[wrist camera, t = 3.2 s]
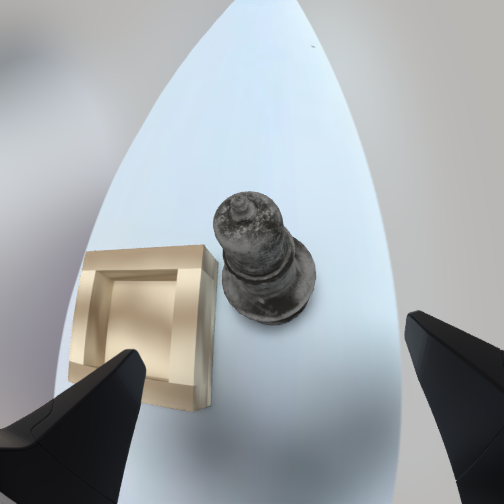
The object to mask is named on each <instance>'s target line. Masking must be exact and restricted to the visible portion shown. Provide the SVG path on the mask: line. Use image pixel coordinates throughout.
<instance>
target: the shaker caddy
mask: <svg viewBox="0 0 504 504" xmlns="http://www.w3.org/2000/svg"><path fill="white" fill-rule="evenodd" d="M217 274H218V262H217V261H216V259H215V258H214V257H213V256H212V254H211V253H210V252H209V251H208V249H207V248H206V247H205V246H204V245H187V246H170V247H153V248H136V249H120V250H104V251H89V252H86V254H85V258H84V263H83V267H82V272H81V277H80V282H79V287H78V293H77V299H76V305H75V311H74V318H73V326H72V335H71V345H70V356H69V372H68V381H69V382H72V383H77V382H78V381H80V380H81V379H83V378H84V377H86V376H87V375H89V374H90V373H91V372H93V371H94V370H96V369H97V368H99V367H100V366H102V365H103V364H104V363H106V362H107V361H109V360H110V359H112V358H113V357H115V356H116V355H117V354H119V353H120V352H122V351H123V350H125V349H136V350H137V351H138V353H139V354H140V356H141V358H142V360H143V362H144V364H145V366H146V377H145V383H144V389H143V394H142V400H141V402H142V403H147V404H151V405H156V406H161V407H167V408H172V409H178V410H184V411H191V412H194V411H196V410H199V409H202V408H205V407H208V406H210V405H211V384H212V359H213V338H214V320H215V303H216V288H217Z"/></svg>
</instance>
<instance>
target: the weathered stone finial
mask: <svg viewBox="0 0 504 504" xmlns="http://www.w3.org/2000/svg"><path fill="white" fill-rule="evenodd" d="M213 228H214V232H215V236H216V238H217V240H218V242H219V243H220V245H221V247H222V248H223V259H224V263H225V264H224V267H223V270H222V285H223V289H224V294H225V296H226V297H227V299H228V301H229V303H230V304H231V305H232V306H233V307H234V308H235V309H236V310H237V311H238V312H239V313H240V314H242V315H244V316H246V317H248V318H249V319H253V320H256V321H258V322H260V323H263V324H268V325H280V324H283V323H286V322H289V321H291V320H292V319H294V318H296V317H297V316H298V315H299V314H300V313H301V312H302V311H303V310H304V308H305V306H306V304H307V302H308V299H309V297H310V295H311V294H312V292H313V290H314V285H315V280H316V272H315V264H314V261H313V259H312V256H311V254H310V252H309V251H308V250H307V248H306V247H305V246H304V245H303V244H302V243H301V242H300V241H298V240H297V239H296V238H294V237H292V235H291V234H290V232H289V231H288V230H287V229H286V227H284V225H283V219H282V215H281V213H280V210H279V208H278V207H277V205H276V204H275V203H274V202H273V200H272V199H270V198H269V197H267V196H266V195H264V194H261V193H258V192H251V191H248V192H240V193H237V194H234V195H232V196H230V197H228V198H227V199H226V200H225V201H224V202H223V203H222V204H220V206H219V207H218V209H217V210H216V213H215V216H214V220H213Z"/></svg>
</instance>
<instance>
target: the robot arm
mask: <svg viewBox="0 0 504 504" xmlns="http://www.w3.org/2000/svg"><path fill="white" fill-rule="evenodd" d="M405 341H406V344H407V347H408V350H409V352H410V355H411V359H412V362H413V365H414V368H415V371H416V374H417V377H418V380H419V382H420V384H421V387H422V389H423V391H424V394H425V396H426V398H427V401H428V403H429V406H430V408H431V411H432V413H433V416H434V418H435V421H436V423H437V426H438V429H439V431H440V434H441V437H442V440H443V442H444V445H445V448H446V451H447V454H448V457H449V460H450V463H451V466H452V470H453V473H454V476H455V479H456V480H457V481H456V483H457V487H458V491H459V494H460V498H461V502H462V504H504V350H500V349H499V348H497V347H495V346H493V345H491V344H489V343H487V342H485V341H483V340H481V339H479V338H477V337H474V336H473V335H470V334H468V333H466V332H464V331H462V330H460V329H458V328H456V327H454V326H452V325H450V324H448V323H445V322H443V321H441V320H439V319H437V318H435V317H433V316H430V315H428V314H426V313H424V312H422V311H419V310H418V311H414V312H410V313H408V315H407V318H406V326H405ZM145 377H146V366H145V364H144V362H143V360H142V358H141V356H140V354H139V353H138V351H137V350H136V349H125V350H123V351H122V352H120V353H119V354H117V355H116V356H115V357H113V358H112V359H110V360H109V361H107V362H106V363H104V364H103V365H102V366H100V367H99V368H97V369H96V370H94V371H93V372H91V373H90V374H89V375H87V376H86V377H84V378H83V379H81V380H80V381H78V382H77V383H75V384H74V385H73V386H71V387H70V388H68V389H67V390H65V391H64V392H62V393H61V394H59V395H58V396H57V397H55V399H52V400H51V401H49V402H48V403H46V404H45V405H43V406H42V407H40V408H39V409H37V410H35V411H34V412H32V413H31V414H29V415H27V416H25V417H23V418H22V419H20V420H18V421H16V422H15V423H13V424H11V425H10V426H7V427H5V428H3V429H0V504H117V502H118V497H119V492H120V488H121V483H122V478H123V474H124V469H125V465H126V461H127V457H128V453H129V449H130V444H131V441H132V437H133V433H134V429H135V425H136V421H137V418H138V414H139V410H140V406H141V400H142V394H143V389H144V383H145Z"/></svg>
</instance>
